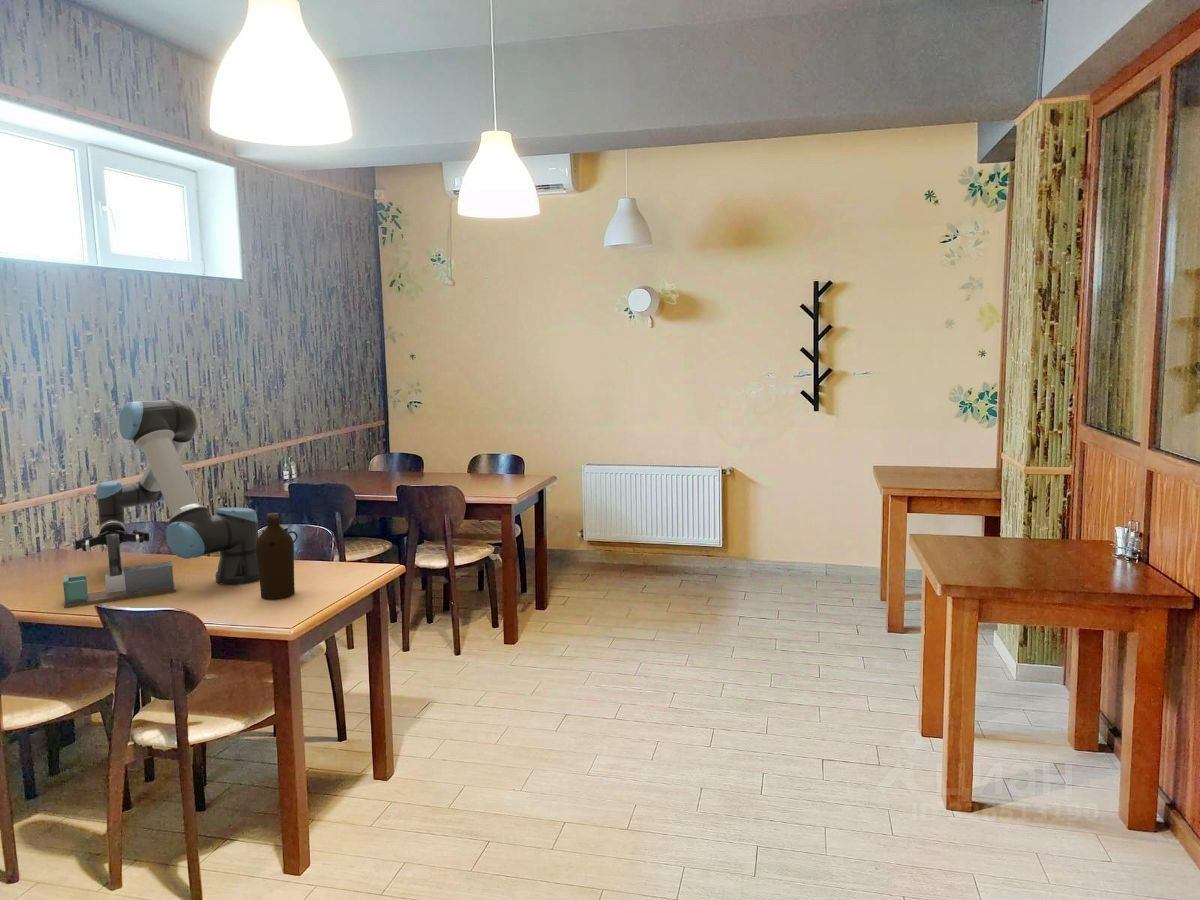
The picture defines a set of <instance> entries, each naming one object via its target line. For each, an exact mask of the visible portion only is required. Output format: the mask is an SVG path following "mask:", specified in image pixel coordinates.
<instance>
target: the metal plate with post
mask: <svg viewBox="0 0 1200 900" xmlns="http://www.w3.org/2000/svg"><path fill="white" fill-rule="evenodd" d="M106 538H107V545H106V546H107V556H108V557H107V559H108V560H107V561H108V568H109V569H108V570H109V572H108V573H105V576H104V577H105V579H104V580H105V588H106V590H105V591H107V593H110V592H117V591H124V590H126V585H125V574H124V570H123V568H122V555H121V547H120V546H121V544H119V534H117V533H115V534H108V535H106Z"/></svg>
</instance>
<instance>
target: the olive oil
mask: <svg viewBox="0 0 1200 900" xmlns="http://www.w3.org/2000/svg"><path fill="white" fill-rule="evenodd" d="M266 516H267V518H266V524H267V526H266V527H267V528H266V529H265V530H264V531H263V533H262V532H261V533H260V535H258V539H257V542H256V555H257V563H258V571H259V579H260V580H259V587H260V596H261V598H262V599H263V600H266V601H267V600H268V601H277V600H283V599H287V598H291V597H292V596H294V595H295V594H296V592H295V542H293V541H294V540H293V538H292V537H293V536H292V535H291V533H288V532H289V531H287V532H286V531H285V530H284V529H283V528H282V527H281V526H282V525H280V517H279V513H278V512H270V513H266ZM290 596H291V597H290Z"/></svg>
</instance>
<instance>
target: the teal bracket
mask: <svg viewBox="0 0 1200 900" xmlns="http://www.w3.org/2000/svg"><path fill="white" fill-rule="evenodd" d="M87 582H88V581H87V574H83V575H74V576H70V575H69V574H68V575H63V581H62V583H63V584H62V585H63V593H64V595H63V596H64V600H65V604H66V603H73V602H80V601H87V598H88V593H89V592H88V583H87Z"/></svg>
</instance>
